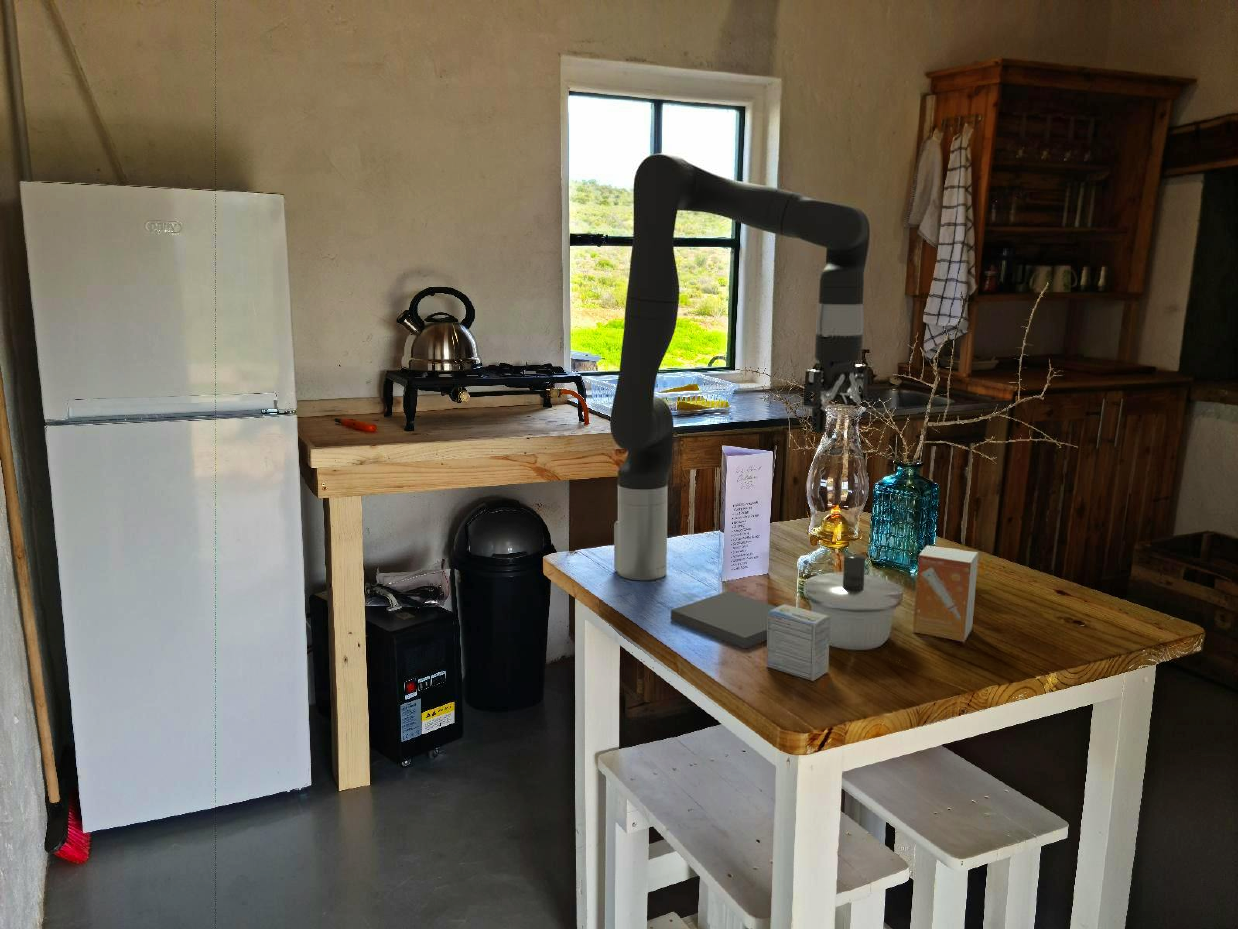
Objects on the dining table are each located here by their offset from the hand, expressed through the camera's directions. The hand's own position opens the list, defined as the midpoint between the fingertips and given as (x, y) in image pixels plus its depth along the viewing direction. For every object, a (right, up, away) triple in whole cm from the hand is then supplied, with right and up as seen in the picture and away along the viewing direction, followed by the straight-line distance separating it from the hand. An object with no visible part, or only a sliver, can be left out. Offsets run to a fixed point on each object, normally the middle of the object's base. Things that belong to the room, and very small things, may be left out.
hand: (834, 429), depth 163 cm
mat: (-17, -32, -4) cm, 36 cm away
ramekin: (0, -33, -10) cm, 35 cm away
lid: (0, -26, -11) cm, 29 cm away
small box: (+15, -33, -8) cm, 37 cm away
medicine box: (-10, -36, -22) cm, 43 cm away
